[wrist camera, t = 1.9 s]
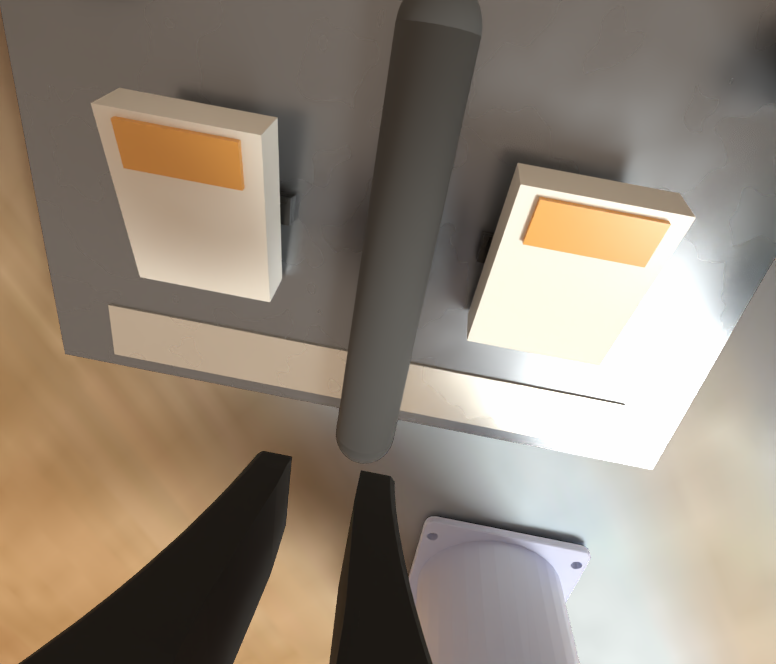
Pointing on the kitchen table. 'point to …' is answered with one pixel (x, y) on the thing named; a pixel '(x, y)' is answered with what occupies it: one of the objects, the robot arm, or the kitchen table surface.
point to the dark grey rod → (405, 212)
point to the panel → (462, 206)
